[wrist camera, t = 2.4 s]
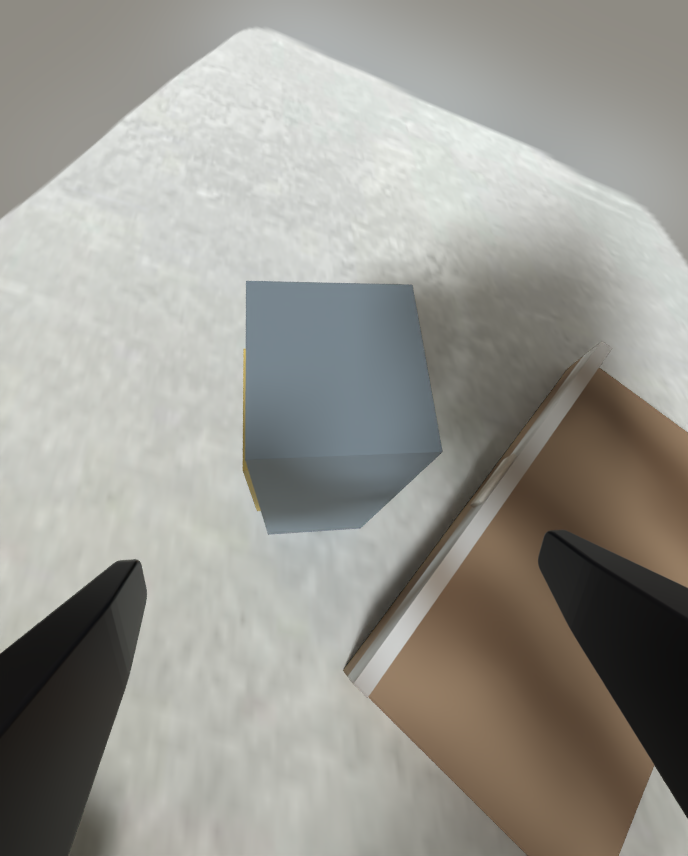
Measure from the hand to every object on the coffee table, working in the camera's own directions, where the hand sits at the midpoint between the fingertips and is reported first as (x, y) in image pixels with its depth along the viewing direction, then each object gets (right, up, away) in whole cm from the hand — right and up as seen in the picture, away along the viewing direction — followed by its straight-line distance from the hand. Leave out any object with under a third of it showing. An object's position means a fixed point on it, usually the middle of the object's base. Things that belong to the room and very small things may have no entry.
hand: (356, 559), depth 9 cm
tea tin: (-2, 0, +12) cm, 13 cm away
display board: (+11, -4, +12) cm, 17 cm away
